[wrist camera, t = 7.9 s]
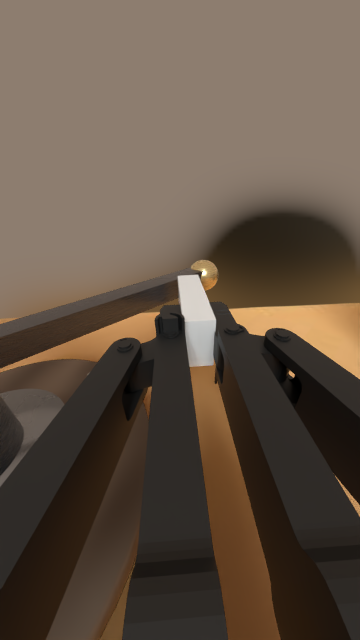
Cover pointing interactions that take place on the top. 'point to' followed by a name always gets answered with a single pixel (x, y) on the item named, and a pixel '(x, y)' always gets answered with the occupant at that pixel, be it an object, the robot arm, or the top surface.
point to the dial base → (111, 520)
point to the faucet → (60, 327)
